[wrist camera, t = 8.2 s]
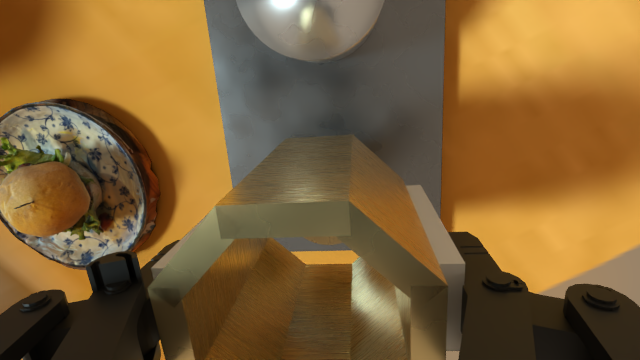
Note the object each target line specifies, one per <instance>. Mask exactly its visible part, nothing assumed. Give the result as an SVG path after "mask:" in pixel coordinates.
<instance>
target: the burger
mask: <svg viewBox="0 0 640 360" xmlns="http://www.w3.org/2000/svg"><path fill="white" fill-rule="evenodd" d="M150 163H152V162H151V160H150V158H149V156H148V154H147V152H146V150H145V149H144V147H143V146H142V145H141V143H140V142H139V141H138V140H137V138H136V137H135V136H134V134H133V133H132V132H130V131H129V130H128V129H127V128H126V127H125V126H124V125H123V124H122V123H121V122H120V121H118V120H117V119H115V118H114V117H112V116H111V115H109V114H108V113H106V112H105V111H103V110H101V109H99V108H97V107H94V106H92V105H90V104H88V103H84V102H80V101H75V100H71V99H51V100H46V101H41V102H35V103H28V104H25V105H21V106H18V107H16V108H13V109H11V110H10V111H9V112H7V113H6V114H4V115H3V116H2V117H0V220H1V221H2V222H3V223H4V225H5V226H6V227H7V228H8V229H9V231H10V232H11V233H12V234H13V235H14V236H15V237H16V238H17V239H19V240H20V241H22V242H23V243H25V244H26V245H28V246H29V247H31V248H32V249H34V250H35V251H37V252H38V253H40V254H41V255H43V256H44V257H46V258H47V259H48V260H53V261H56V262H58V263H60V264H62V265H64V266H66V267H69V268H73V269H79V270H86V266H87V265H88V264H89V263H90V262H92V261H94V260H95V259H97V258H99V257H102V256H105V255H107V254H111V253H115V252H121V251H131V252H134V251H135V250H136V249H137V248H138V247H139V246H141V245H142V244H143V243H144V242H145V241H146V240H147V239H148V238H149V236H150V234H151V231H152V230H153V228H154V227H155V224H154V221H155V217H156V216H157V213H156V212H155V211H156V202H157V200H158V199H159V196H160V190H159V188H158V179H157V177H156V175H155V174H154V173H153V172H152V171H151V170H150V166H151V165H150Z"/></svg>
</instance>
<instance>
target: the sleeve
mask: <svg viewBox="0 0 640 360" xmlns="http://www.w3.org/2000/svg"><path fill="white" fill-rule="evenodd" d="M324 236H336V237H337V238H338V239H339V240H340V241H342V242H343V243H344V244H345V245H346V246H348V247H349V248H350V249H351V250H352V251H354V252H355V253H356V254H357V255H358V256H360V257H359V258H358V259H357V260H356V261H355V262H354V263H353V264H316V265H306V264H304V263H303V262H302V261H301V260H300V259H298V258H297V257H296V256H295V255H293V254H292V253H291V252H290V251H288V250H287V249H286V248H285V247H283V246H282V245H281V244H280V243H278V242H277V241H276V240H275V239H274V238H284V237H324ZM148 292H149V296H150V300H151V304H152V308H153V312H154V316H155V320H156V324H157V328H158V332H159V336H160V340H161V344H162V348H163V351H164V355H165V359H166V360H446V334H447V304H448V284H447V282H446V279H445V277H444V275H443V272H442V270H441V268H440V265H439V263H438V261H437V258H436V256H435V254H434V251H433V249H432V247H431V244H430V242H429V240H428V237H427V235H426V233H425V230H424V228H423V226H422V223H421V221H420V219H419V216H418V214H417V211H416V209H415V207H414V204H413V202H412V200H411V197H410V195H409V193H408V190H407V188H406V186H405V183H404V181H403V179H402V178H401V177H400V176H399V175H398V174H397V173H396V172H394V171H393V170H392V169H391V168H390V167H389V166H388V165H387V164H385V163H384V162H383V161H382V160H381V159H380V158H379V157H378V156H376V155H375V154H374V153H373V152H372V151H371V150H370V149H369V148H367V147H366V146H365V145H364V144H363V143H362V142H361V141H360V140H358V139H357V138H356V137H355V136H354V135H336V136H319V137H302V138H286V139H285V140H284V141H283V142H282V143H281V144H279V145H278V146H277V147H276V148H275V149H274V150H273V151H272V152H271V153H270V154H269V155H268V156H267V157H266V158H265V159H264V160H263V161H262V162H261V163H259V164H258V165H257V166H256V167H255V168H254V169H253V170H252V171H251V172H250V173H249V174H248V175H247V176H246V177H245V178H244V179H243V180H242V181H241V182H239V183H238V184H237V185H236V186H235V187H234V188H233V189H232V190H231V191H230V192H229V193H228V194H227V195H226V196H225V197H224V198H223V199H222V200H221V201H219V202H218V203H217V204H216V205H215V206H214V208H213V209H212V210H211V211H210V213H209V214H208V215H207V216H206V217H205V219H204V220H203V221H202V222H201V223H200V225H199V226H198V227H197V228H196V230H195V231H194V232H193V233H192V234H191V236H190V237H189V238H188V239H187V241H186V242H185V243H184V244H183V245H182V247H181V248H180V249H179V250H178V252H177V253H176V254H175V255H174V256H173V258H172V259H171V260H170V261H169V263H168V264H167V265H166V266H165V267H164V269H163V270H162V271H161V272H160V273H159V275H158V276H157V277H156V278H155V280H154V281H153V282H152V283H151V284H150V286H149V287H148Z"/></svg>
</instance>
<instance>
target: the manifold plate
mask: <svg viewBox="0 0 640 360" xmlns="http://www.w3.org/2000/svg"><path fill="white" fill-rule="evenodd" d="M204 5H205V11H206V18H207V24H208V31H209V37H210V43H211V50H212V56H213V63H214V69H215V76H216V82H217V89H218V95H219V101H220V108H221V114H222V121H223V127H224V134H225V140H226V147H227V153H228V159H229V166H230V172H231V179H232V185H233V188H234V187H235V186H236V185H237V184H238V183H239V182H241V181H242V180H243V179H244V178H245V177H246V176H247V175H248V174H249V173H250V172H251V171H252V170H253V169H254V168H255V167H256V166H257V165H258V164H259V163H261V162H262V161H263V160H264V159H265V158H266V157H267V156H268V155H269V154H270V153H271V152H272V151H273V150H274V149H275V148H276V147H277V146H278V145H279V144H281V143H282V142H283V141H284V140H285V139H286V138H302V137H319V136H336V135H354V136H355V137H356V138H357V139H358V140H360V141H361V142H362V143H363V144H364V145H365V146H366V147H367V148H369V149H370V150H371V151H372V152H373V153H374V154H375V155H376V156H378V157H379V158H380V159H381V160H382V161H383V162H384V163H385V164H387V165H388V166H389V167H390V168H391V169H392V170H393V171H394V172H396V173H397V174H398V175H399V176H400V177H401V178H402V179H403V181H404V183H405V186H406V185H421V186H422V188H423V190H424V192H425V193H426V195H427V197H428V199H429V200H430V202H431V204H432V206H433V208H434V209H435V211H436V213H437V215H438V216H439V218H440V208H441V166H442V125H443V83H444V41H445V0H204ZM274 239H275V240H276V241H277V242H278V243H280V244H281V245H282V246H283V247H285V248H286V249H287V250H288V251H337V250H351V249H350V248H349V247H348V246H346V245H345V244H344V243H343V242H342V241H340V240H339V239H338V238H337V237H336V236H324V237H284V238H274Z"/></svg>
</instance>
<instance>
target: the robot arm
mask: <svg viewBox="0 0 640 360" xmlns="http://www.w3.org/2000/svg"><path fill="white" fill-rule="evenodd" d="M406 188H407V190H408V193H409V195H410V197H411V200H412V202H413V204H414V207H415V209H416V211H417V214H418V216H419V219H420V221H421V223H422V226H423V228H424V230H425V233H426V235H427V237H428V240H429V242H430V244H431V247H432V249H433V251H434V254H435V256H436V258H437V261H438V263H439V265H440V268H441V270H442V272H443V275H444V277H445V279H446V282H447V284H448V304H447V334H446V351H460V352H459V359H458V360H640V307H639V306H638V305H637V304H636V303H635V302H633V301H632V300H631V299H629V298H628V297H627V296H625V295H623V294H621V293H619V292H617V291H615V290H613V289H611V288H608V287H604V286H601V285H591V284H575V285H573V286H570V287H568V289H567V291H566V295H565V299H560V298H555V297H549V296H543V295H539V294H534V293H531V292H528V288H527V286H526V284H525V282H523V281H522V280H521V279H520V278H518V277H516V276H514V275H512V274H510V273H506V272H502V271H501V269H500V268H499V267H498V265H497V264H496V262H495V261H494V260H493V258H492V257H491V256H490V254H488V252H487V250H486V249H485V248H484V247H483V245H482V243H481V242H480V241H479V239H478V238H476V237H475V236H473V235H471V234H470V233H468V232H447V230H446V229H445V227H444V225H443V223H442V222H441V220H440V218H439V216H438V215H437V213H436V211H435V209H434V208H433V206H432V204H431V202H430V200H429V199H428V197H427V195H426V193H425V192H424V190H423V188H422V186H421V185H406ZM207 215H208V214H207ZM207 215H206V216H207ZM206 216H205V217H206ZM205 217H204V218H203V219H202V220H201V221H200V222H199V223H198V224H197V225H196V226H195V227H194V228H193V229H192V230H191V231H190V232H189V233H187V234H186V235H185V236H184V237H183V238H182V239H181V240H177V241H175V242H173V243H171V244H169V245H167V246H166V247H164V248H163V249H162V250H161V251H160V252H159V253H158V255H156V256H155V257H153V258H152V259H151V261H149V262H148V263H147V264H146V265H145V266H144V267H142V268H141V269H140V266H139V262H138V258H137V254H136V253H134V252H131V251H121V252H115V253H111V254H107V255H105V256H102V257H99V258H97V259H95V260H94V261H92V262H90V263H89V264H88V265H87V266H86V270H87V274H88V277H89V280H90V284H91V287H92V290H93V293H92V295H91V296H90V298H89V299H88V300H82V301H77V302H72V303H68V302H67V299H66V295H65V292H63V291H62V290H48V291H40V292H38V293H34V294H31V295H30V296H29V297H26V298H24V299H22V300H20V301H19V302H17V303H16V304H14V305H13V306H11V307H10V308H9V309H7V310H6V311H5V312H3V313H2V314H1V315H0V360H21V359H22V358H23V360H160V357H161V350H160V346H159V340H160V336H159V332H158V328H157V324H156V320H155V316H154V312H153V308H152V304H151V300H150V296H149V292H148V287H149V286H150V284H151V283H152V282H153V281H154V280H155V278H156V277H157V276H158V275H159V273H160V272H161V271H162V270H163V269H164V267H165V266H166V265H167V264H168V263H169V261H170V260H171V259H172V258H173V256H174V255H175V254H176V253H177V252H178V250H179V249H180V248H181V247H182V245H183V244H184V243H185V242H186V241H187V239H188V238H189V237H190V236H191V234H192V233H193V232H194V231H195V230H196V228H197V227H198V226H199V225H200V223H201V222H202V221H203V220H204V219H205Z"/></svg>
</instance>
